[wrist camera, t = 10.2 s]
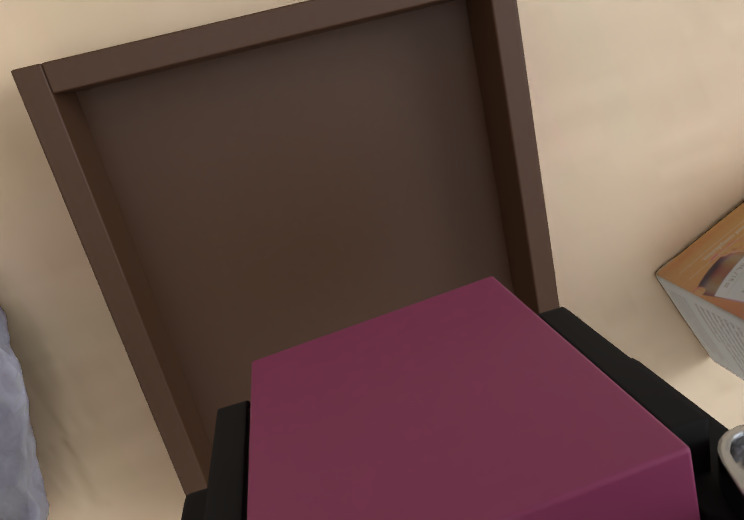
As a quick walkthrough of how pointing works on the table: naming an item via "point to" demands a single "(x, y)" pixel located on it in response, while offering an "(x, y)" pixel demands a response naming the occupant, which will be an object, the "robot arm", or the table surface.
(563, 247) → the table surface
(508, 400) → the pink block
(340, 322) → the tray
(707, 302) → the small box
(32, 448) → the stone block
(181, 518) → the robot arm
